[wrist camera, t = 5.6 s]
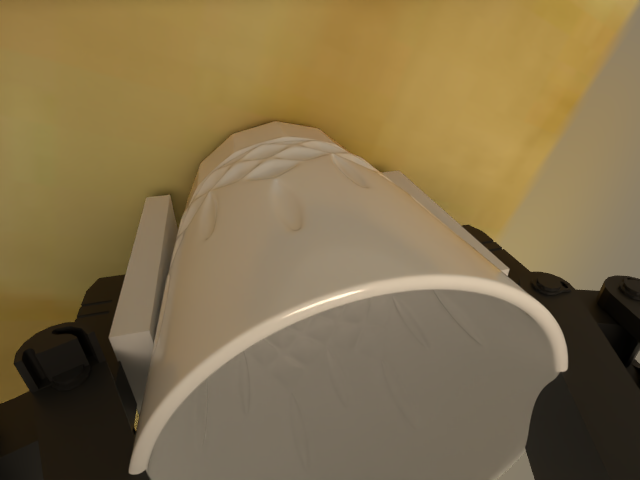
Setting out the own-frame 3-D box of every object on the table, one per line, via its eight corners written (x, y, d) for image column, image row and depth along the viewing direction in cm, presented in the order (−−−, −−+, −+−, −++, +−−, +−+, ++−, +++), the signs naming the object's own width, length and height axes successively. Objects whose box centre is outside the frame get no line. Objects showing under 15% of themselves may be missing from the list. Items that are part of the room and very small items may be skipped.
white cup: (211, 61, 12) (232, 202, 4) (411, 151, 15) (651, 331, 7) (145, 266, 15) (78, 591, 7) (324, 305, 18) (423, 556, 10)
